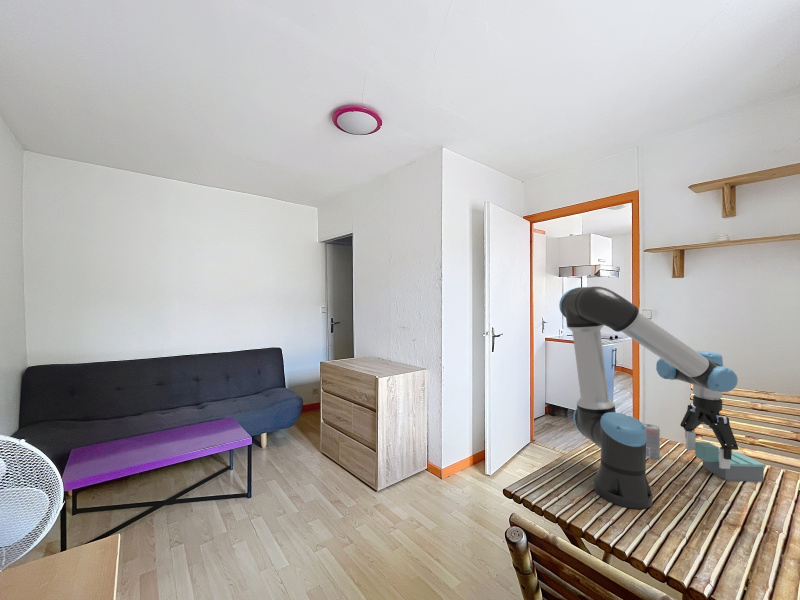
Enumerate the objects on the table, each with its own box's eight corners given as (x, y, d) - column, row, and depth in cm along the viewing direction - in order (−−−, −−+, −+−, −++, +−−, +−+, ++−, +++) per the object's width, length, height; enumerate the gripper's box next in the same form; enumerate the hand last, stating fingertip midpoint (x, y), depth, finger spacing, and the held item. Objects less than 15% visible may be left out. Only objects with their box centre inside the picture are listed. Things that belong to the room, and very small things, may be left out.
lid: (711, 467, 112) (712, 450, 112) (689, 454, 122) (689, 438, 122) (765, 468, 112) (765, 451, 112) (737, 455, 121) (738, 440, 121)
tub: (725, 482, 112) (725, 465, 112) (702, 468, 121) (702, 453, 121) (763, 483, 112) (763, 466, 112) (737, 469, 121) (737, 454, 121)
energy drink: (653, 454, 132) (654, 424, 132) (662, 461, 127) (663, 429, 127) (639, 454, 132) (639, 423, 132) (647, 460, 127) (648, 428, 127)
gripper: (754, 408, 104) (754, 477, 104) (689, 387, 129) (688, 443, 129) (729, 408, 105) (728, 476, 105) (669, 387, 130) (668, 442, 130)
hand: (706, 458), depth 117 cm, fingers open, 13 cm apart
